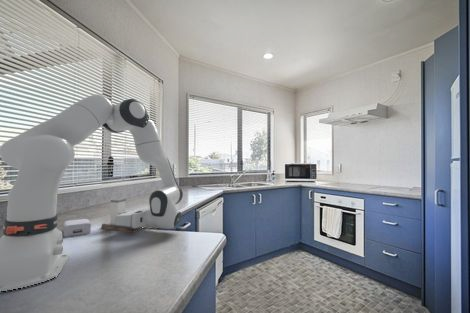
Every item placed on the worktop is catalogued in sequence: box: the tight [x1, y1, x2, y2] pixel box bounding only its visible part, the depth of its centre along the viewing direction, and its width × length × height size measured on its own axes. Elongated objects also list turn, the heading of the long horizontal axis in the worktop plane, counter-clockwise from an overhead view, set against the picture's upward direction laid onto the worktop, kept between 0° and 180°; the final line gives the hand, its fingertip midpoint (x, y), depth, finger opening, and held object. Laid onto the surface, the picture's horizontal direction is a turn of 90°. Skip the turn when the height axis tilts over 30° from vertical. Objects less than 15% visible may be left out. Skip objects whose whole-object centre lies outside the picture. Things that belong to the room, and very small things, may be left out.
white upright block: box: [109, 197, 127, 225], centre depth 107 cm, size 4×5×12 cm
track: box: [101, 222, 143, 233], centre depth 106 cm, size 17×8×2 cm, turn 78°
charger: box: [62, 218, 92, 238], centre depth 100 cm, size 5×9×15 cm
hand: (120, 214), depth 106 cm, fingers closed, pressing on white upright block
